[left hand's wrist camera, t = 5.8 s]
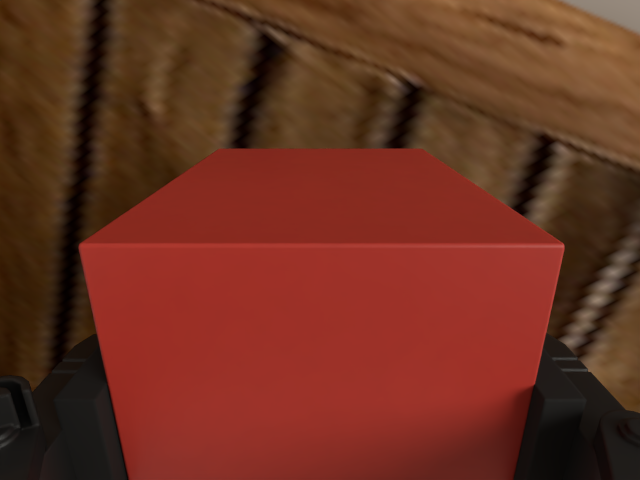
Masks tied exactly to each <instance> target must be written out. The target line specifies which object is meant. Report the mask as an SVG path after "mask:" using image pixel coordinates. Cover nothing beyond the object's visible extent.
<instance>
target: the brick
mask: <svg viewBox="0 0 640 480" xmlns="http://www.w3.org/2000/svg"><path fill="white" fill-rule="evenodd" d="M79 253H80V257H81V262H82V267H83V271H84V276H85V281H86V285H87V290H88V295H89V299H90V304H91V309H92V313H93V318H94V322H95V327H96V332H97V336H98V341H99V346H100V350H101V355H102V360H103V364H104V369H105V374H106V378H107V383H108V388H109V392H110V397H111V401H112V406H113V411H114V415H115V420H116V425H117V429H118V434H119V439H120V443H121V448H122V453H123V457H124V462H125V467H126V471H127V476H128V480H513V479H514V475H515V470H516V466H517V461H518V456H519V452H520V447H521V443H522V438H523V433H524V429H525V424H526V420H527V415H528V410H529V406H530V401H531V396H532V392H533V387H534V384H535V381H536V377H537V372H538V368H539V363H540V358H541V354H542V349H543V345H544V340H545V335H546V331H547V326H548V322H549V317H550V312H551V308H552V303H553V299H554V294H555V289H556V285H557V280H558V276H559V271H560V266H561V262H562V257H563V253H564V244H563V243H562V242H560V241H559V240H557V239H556V238H554V237H553V236H551V235H550V234H548V233H547V232H545V231H544V230H542V229H541V228H539V227H538V226H536V225H535V224H533V223H532V222H530V221H529V220H527V219H526V218H524V217H523V216H521V215H520V214H518V213H517V212H516V211H514V210H513V209H511V208H510V207H508V206H507V205H505V204H504V203H502V202H501V201H499V200H498V199H496V198H495V197H493V196H492V195H490V194H489V193H487V192H486V191H484V190H483V189H481V188H480V187H478V186H477V185H475V184H474V183H472V182H471V181H469V180H468V179H466V178H465V177H463V176H462V175H460V174H459V173H457V172H456V171H454V170H453V169H451V168H450V167H448V166H447V165H445V164H444V163H442V162H441V161H440V160H438V159H437V158H435V157H434V156H432V155H431V154H429V153H428V152H426V151H425V150H423V149H218V150H217V151H215V152H214V153H212V154H211V155H209V156H208V157H206V158H205V159H203V160H202V161H200V162H199V163H197V164H196V165H195V166H193V167H192V168H190V169H189V170H187V171H186V172H184V173H183V174H181V175H180V176H178V177H177V178H175V179H174V180H172V181H171V182H170V183H168V184H167V185H165V186H164V187H162V188H161V189H159V190H158V191H156V192H155V193H153V194H152V195H150V196H149V197H148V198H146V199H145V200H143V201H142V202H140V203H139V204H137V205H136V206H134V207H133V208H131V209H130V210H128V211H127V212H125V213H124V214H123V215H121V216H120V217H118V218H117V219H115V220H114V221H112V222H111V223H109V224H108V225H106V226H105V227H103V228H102V229H100V230H99V231H98V232H96V233H95V234H93V235H92V236H90V237H89V238H87V239H86V240H84V241H83V242H81V243H80V244H79Z"/></svg>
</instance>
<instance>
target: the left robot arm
mask: <svg viewBox="0 0 640 480" xmlns="http://www.w3.org/2000/svg"><path fill="white" fill-rule="evenodd" d="M0 480H128V476H127V471H126V467H125V462H124V457H123V453H122V448H121V443H120V439H119V434H118V429H117V425H116V420H115V415H114V411H113V406H112V401H111V397H110V392H109V388H108V383H107V378H106V374H105V369H104V364H103V360H102V355H101V350H100V346H99V341H98V336H97V334H93V335H92V336H90V337H88V338H87V339H85V340H84V341H82V342H80V343H79V344H77V345H76V346H74V347H73V349H72V350H71V351H70V352H69V353H68V354H67V355H66V356H65V357H64V358H63V361H62V362H60V363H59V364H58V365H57V366H56V367H55V368H54V369H53V370H52V374H49V375H48V376H47V377H46V378H45V379H44V380H43V381H42V382H41V383H40V384H39V386H38V387H37V388H36V389H35V390H34V391H33V392H32V391H31V387H30V384H29V381H27V380H26V379H24V378H23V377H20V376H12V375H8V376H0ZM513 480H640V413H637V412H634V411H628V410H625V409H624V408H623V407H622V405H621V404H620V403H619V402H618V401H617V400H616V399H615V398H614V397H613V396H612V395H611V394H610V392H609V391H608V390H607V389H606V388H605V387H604V386H603V385H602V384H601V383H600V382H599V381H598V380H597V378H596V377H595V376H594V375H593V374H592V373H591V372H588V369H587V368H586V367H585V365H584V364H583V363H582V362H581V361H578V359H577V357H576V356H575V355H574V354H573V353H572V351H571V350H570V349H569V348H568V347H567V346H566V345H565V344H563V343H562V342H560V341H559V340H557V339H555V338H554V337H552V336H551V335H549V334H547V333H546V335H545V340H544V345H543V349H542V354H541V358H540V363H539V368H538V372H537V377H536V381H535V384H534V387H533V392H532V396H531V401H530V406H529V410H528V415H527V420H526V424H525V429H524V433H523V438H522V443H521V447H520V452H519V456H518V461H517V466H516V470H515V475H514V479H513Z"/></svg>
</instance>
